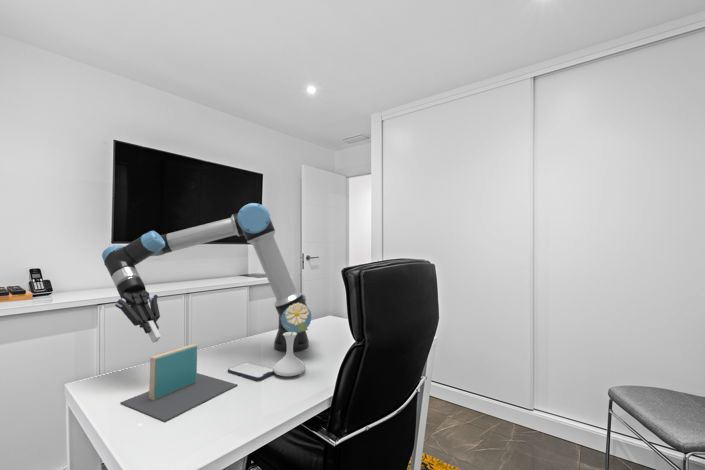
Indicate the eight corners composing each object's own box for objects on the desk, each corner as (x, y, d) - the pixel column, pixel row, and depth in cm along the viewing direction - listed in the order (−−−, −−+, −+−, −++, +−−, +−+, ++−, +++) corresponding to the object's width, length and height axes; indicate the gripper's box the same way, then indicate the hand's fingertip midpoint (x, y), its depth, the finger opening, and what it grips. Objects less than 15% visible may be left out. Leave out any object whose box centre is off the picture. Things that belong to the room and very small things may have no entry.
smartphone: (225, 374, 114) (258, 383, 106) (225, 369, 114) (258, 378, 106) (245, 366, 122) (277, 374, 114) (245, 361, 122) (277, 369, 114)
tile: (192, 380, 106) (193, 343, 106) (197, 382, 105) (198, 345, 105) (149, 398, 93) (150, 357, 94) (153, 400, 92) (155, 358, 93)
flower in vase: (266, 376, 111) (267, 303, 111) (284, 365, 121) (285, 298, 122) (299, 382, 106) (301, 306, 107) (315, 370, 117) (316, 300, 118)
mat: (195, 373, 112) (195, 372, 112) (237, 385, 103) (237, 384, 103) (120, 403, 91) (120, 402, 91) (164, 422, 82) (164, 420, 82)
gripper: (143, 288, 118) (170, 341, 110) (103, 292, 107) (130, 352, 99) (153, 274, 116) (181, 327, 108) (112, 277, 104) (141, 337, 96)
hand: (156, 339), depth 103 cm, fingers closed
